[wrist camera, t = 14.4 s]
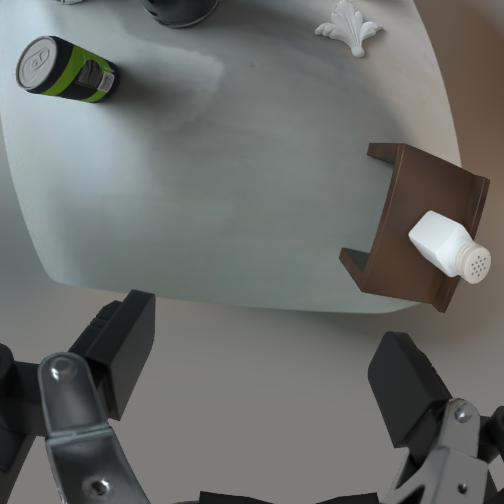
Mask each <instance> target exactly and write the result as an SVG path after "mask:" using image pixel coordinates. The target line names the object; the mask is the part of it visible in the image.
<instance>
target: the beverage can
mask: <svg viewBox="0 0 504 504" xmlns="http://www.w3.org/2000/svg"><path fill="white" fill-rule="evenodd" d="M16 81H17V84H18V85H19V87H21V88H22V89H24V90H26V91H27V92H29V93H34V94H41V95H48V96H55V97H61V98H67V99H73V100H78V101H84V102H89V103H100V102H102V101H104V100H106V99H107V98H109V97H110V96H111V95H112V94H113V92H114V91H115V89H116V87H117V85H118V81H119V72H118V69H117V67H116V66H115V65H114V64H113V63H112V62H110V61H108V60H106V59H104V58H102V57H100V56H98V55H96V54H94V53H91V52H89V51H87V50H85V49H83V48H81V47H79V46H76V45H74V44H72V43H70V42H68V41H65V40H63V39H61V38H58V37H56V36H42V37H39V38H37V39H35V40H33V41H32V42H31V43H30V44H29V45H28V46H27V47H26V48H25V50H24V51H23V53H22V54H21V56H20V58H19V60H18V63H17V67H16Z"/></svg>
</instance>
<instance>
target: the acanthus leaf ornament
mask: <svg viewBox="0 0 504 504" xmlns="http://www.w3.org/2000/svg"><path fill="white" fill-rule="evenodd" d="M336 11H337V12H334V13H332V23H324V24H321V25H320V26H319V27H318V28H317V29H316V30H315V34H316V35H319V34H323V36H329V37H330V38H331V39H337V40H341V41H343V42H345V43H346V44H347V45H348V46H349V47H350V48H351V52H352V54H353V55H354V56H355V57H357V58H361V57H363V56H364V50H363V48H362V42H363V40H364V39H366V38H369V37H372V36H374V35H375V34H376V31H377V30H380V29H382V28H383V26H382V25H381V24H378V23H376V22H373V21H369V22H365V23H363V20H364V17H363V14H362V13H361V12H356V13H355V7H354V5H352V4H350V3H349V2H348V1H346V0H341V1H340V3H339V4H338V5H337V6H336Z"/></svg>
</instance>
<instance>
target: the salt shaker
mask: <svg viewBox="0 0 504 504" xmlns="http://www.w3.org/2000/svg"><path fill="white" fill-rule="evenodd" d="M409 238H410V240H411V241H412V243H413V244H414V245H415V246H416V248H417V249H418V250H419V251H420V253H421V254H422V255H423V256H424V257H425V258H426V259H427V260H429V261H430V262H431V263H433V264H434V265H435V266H436V267H438V268H439V269H440V270H442V271H443V272H444V273H445V274H447V275H448V276H449V277H454V276H456V275H460V276H461V277H463V278H464V279H465V280H467V281H468V282H469V283H471V284H475V283H479V282H480V281H481V280H482V279H484V278H485V276H486V274H487V273H488V271H489V269H490V264H491V257H490V252H489V251H488V250H487V249H486V248H484V247H483V246H481V245H479V244H477V243H476V242H474V241H473V240H472V238H471V237H470V235H469V233H468V232H467V231H466V229H465V228H464V226H463V225H461V224H459V223H457V222H455V221H453V220H451V219H449V218H446V217H444V216H442V215H440V214H438V213H436V212H433V211H428V212H427V213H426V214H425V215H424V216H423V217H422V218H421V220H420V221H419V222H418V223H417V224H416V225H415V226H414V228H413V229H412V230H411V231H410V232H409Z"/></svg>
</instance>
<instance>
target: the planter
mask: <svg viewBox="0 0 504 504" xmlns="http://www.w3.org/2000/svg"><path fill="white" fill-rule="evenodd" d="M53 1H54V2H57V3H59V4H72V3H76V2H79V1H82V0H53Z"/></svg>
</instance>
